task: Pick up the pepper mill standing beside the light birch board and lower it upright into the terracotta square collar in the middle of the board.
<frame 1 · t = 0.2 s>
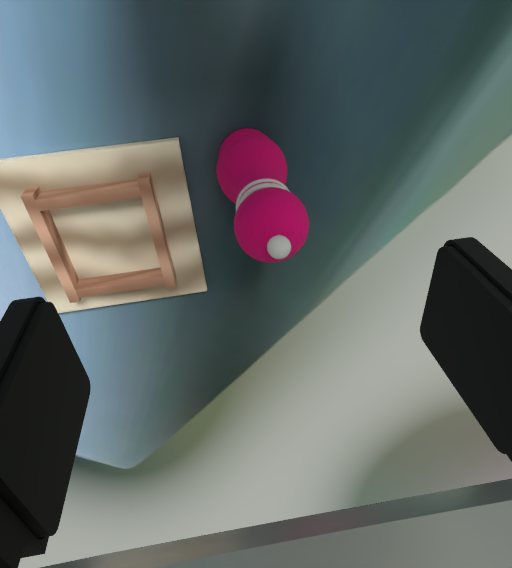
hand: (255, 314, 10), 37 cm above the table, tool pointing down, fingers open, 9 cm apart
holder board: (110, 232, 48), on the table
pepper mill: (246, 156, 45), on the table
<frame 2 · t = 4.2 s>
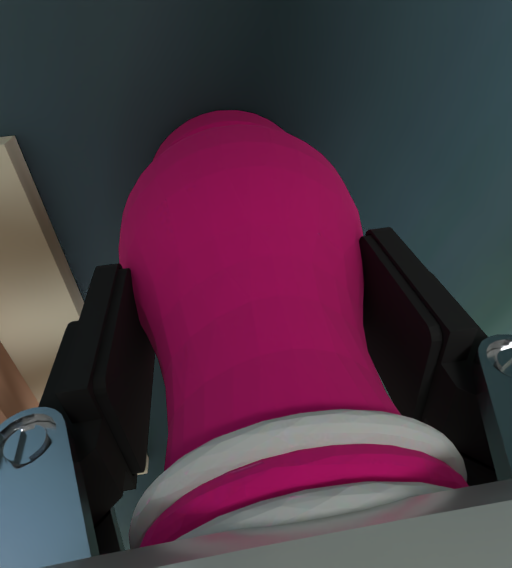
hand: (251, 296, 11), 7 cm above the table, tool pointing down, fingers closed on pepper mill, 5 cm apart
pepper mill: (228, 190, 16), on the table, touching gripper
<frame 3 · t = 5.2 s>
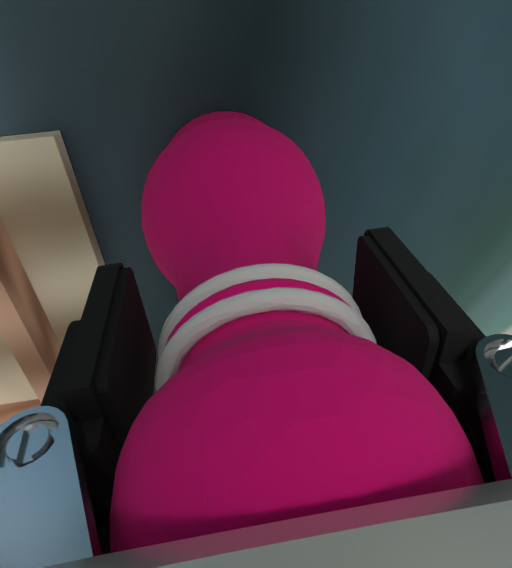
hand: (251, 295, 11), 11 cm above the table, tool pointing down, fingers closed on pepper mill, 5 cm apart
pepper mill: (225, 176, 20), on the table, touching gripper
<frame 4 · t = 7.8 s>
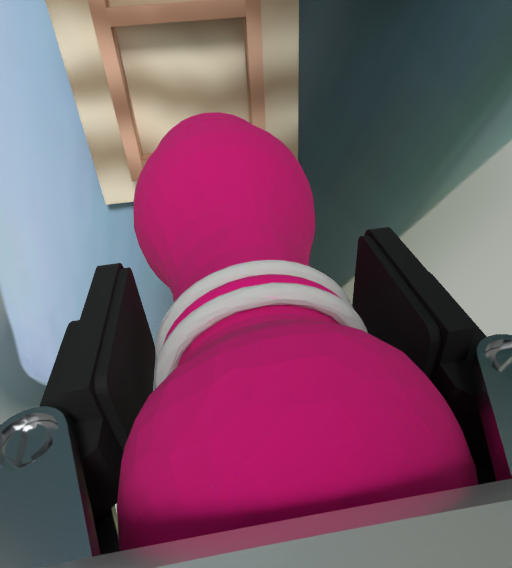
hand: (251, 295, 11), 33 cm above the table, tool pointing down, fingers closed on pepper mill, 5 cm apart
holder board: (189, 87, 37), on the table
pepper mill: (215, 176, 20), point 21 cm above the table, touching gripper
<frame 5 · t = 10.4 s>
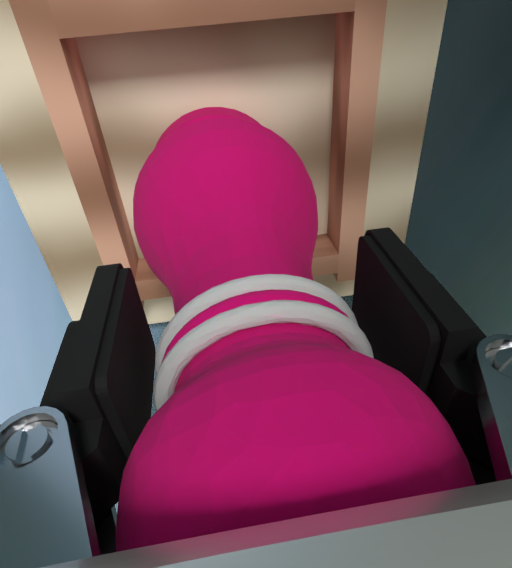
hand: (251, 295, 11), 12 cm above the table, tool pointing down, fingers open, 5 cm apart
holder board: (221, 144, 20), on the table
pepper mill: (216, 172, 20), point 1 cm above the table, touching gripper, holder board
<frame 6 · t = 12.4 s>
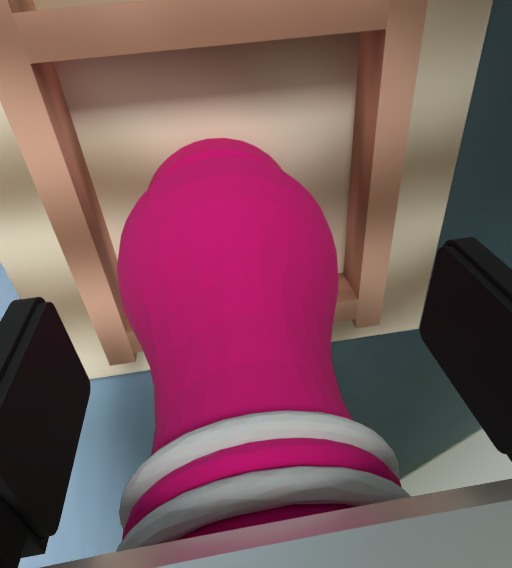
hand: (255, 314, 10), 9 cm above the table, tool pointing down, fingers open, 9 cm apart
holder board: (225, 177, 18), on the table
pepper mill: (220, 209, 18), point 1 cm above the table, touching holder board
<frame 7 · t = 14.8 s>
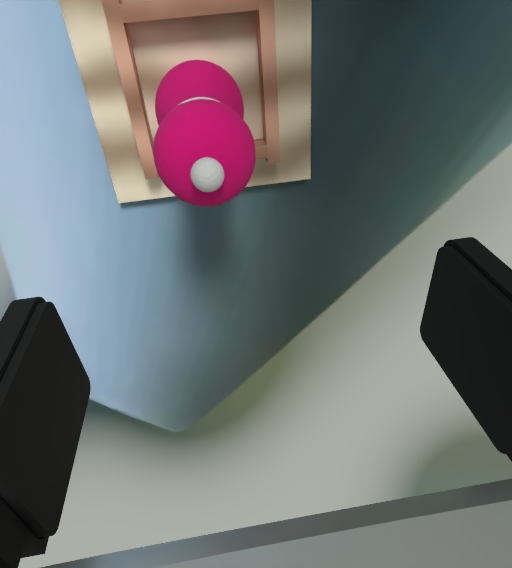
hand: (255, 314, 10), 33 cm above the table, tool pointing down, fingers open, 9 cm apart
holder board: (201, 83, 37), on the table
pepper mill: (198, 98, 37), point 1 cm above the table, touching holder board
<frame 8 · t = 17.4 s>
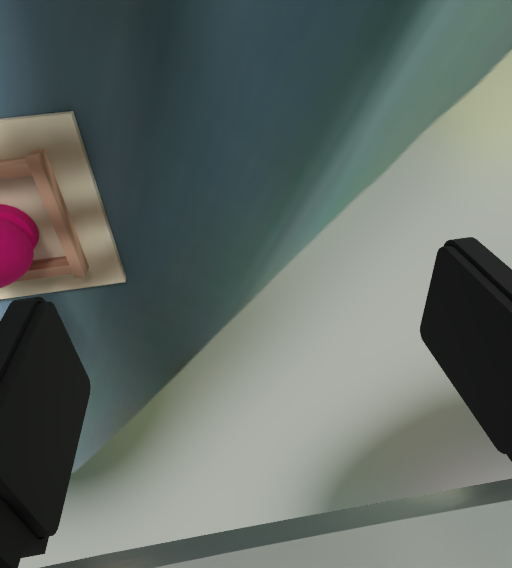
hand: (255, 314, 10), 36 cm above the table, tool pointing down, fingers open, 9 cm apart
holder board: (11, 216, 45), on the table
pepper mill: (8, 229, 45), point 1 cm above the table, touching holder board
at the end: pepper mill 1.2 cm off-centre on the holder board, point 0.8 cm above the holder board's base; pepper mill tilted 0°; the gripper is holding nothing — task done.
